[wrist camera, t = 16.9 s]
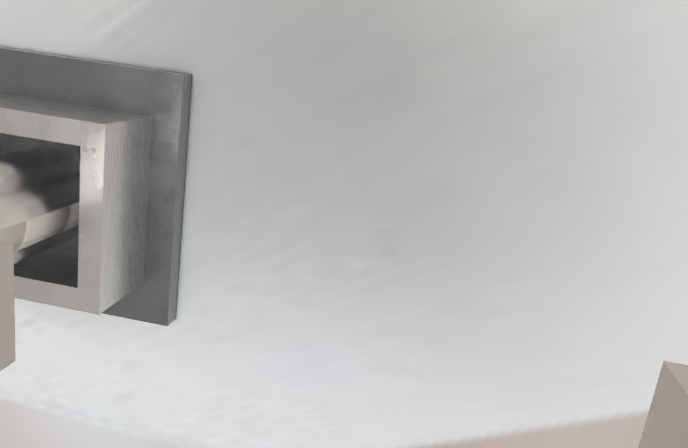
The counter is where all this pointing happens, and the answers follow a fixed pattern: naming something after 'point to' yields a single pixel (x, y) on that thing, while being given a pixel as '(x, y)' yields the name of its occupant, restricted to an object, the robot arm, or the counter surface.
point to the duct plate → (105, 179)
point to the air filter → (39, 198)
